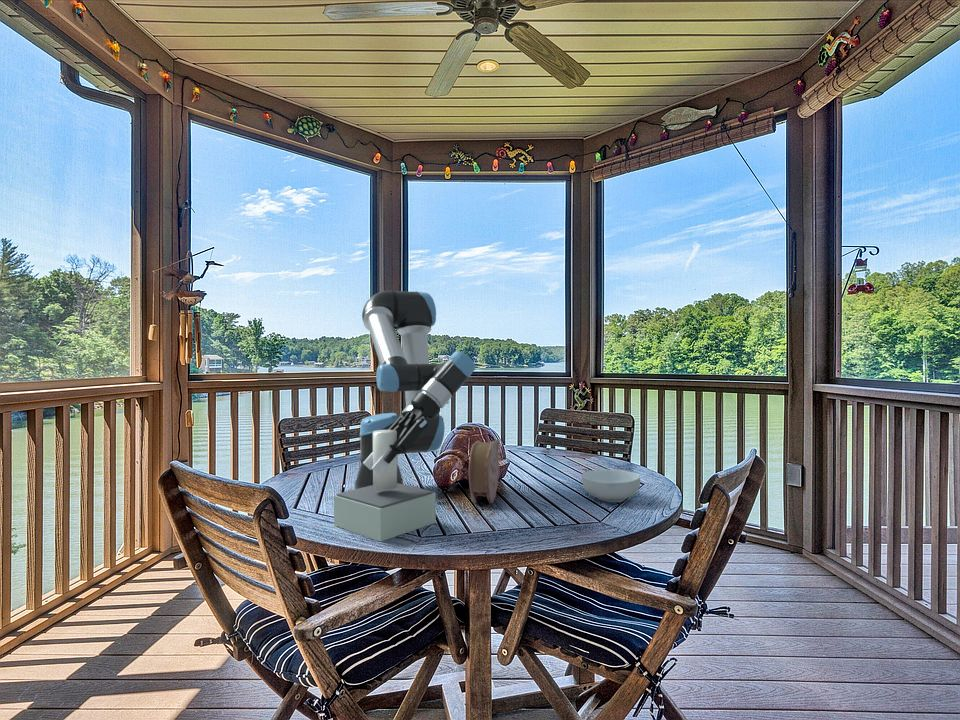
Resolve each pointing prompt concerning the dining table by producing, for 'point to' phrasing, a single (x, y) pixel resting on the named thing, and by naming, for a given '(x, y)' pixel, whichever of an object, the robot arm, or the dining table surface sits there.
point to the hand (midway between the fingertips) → (371, 469)
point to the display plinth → (384, 511)
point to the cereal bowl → (611, 484)
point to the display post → (380, 446)
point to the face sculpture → (484, 470)
